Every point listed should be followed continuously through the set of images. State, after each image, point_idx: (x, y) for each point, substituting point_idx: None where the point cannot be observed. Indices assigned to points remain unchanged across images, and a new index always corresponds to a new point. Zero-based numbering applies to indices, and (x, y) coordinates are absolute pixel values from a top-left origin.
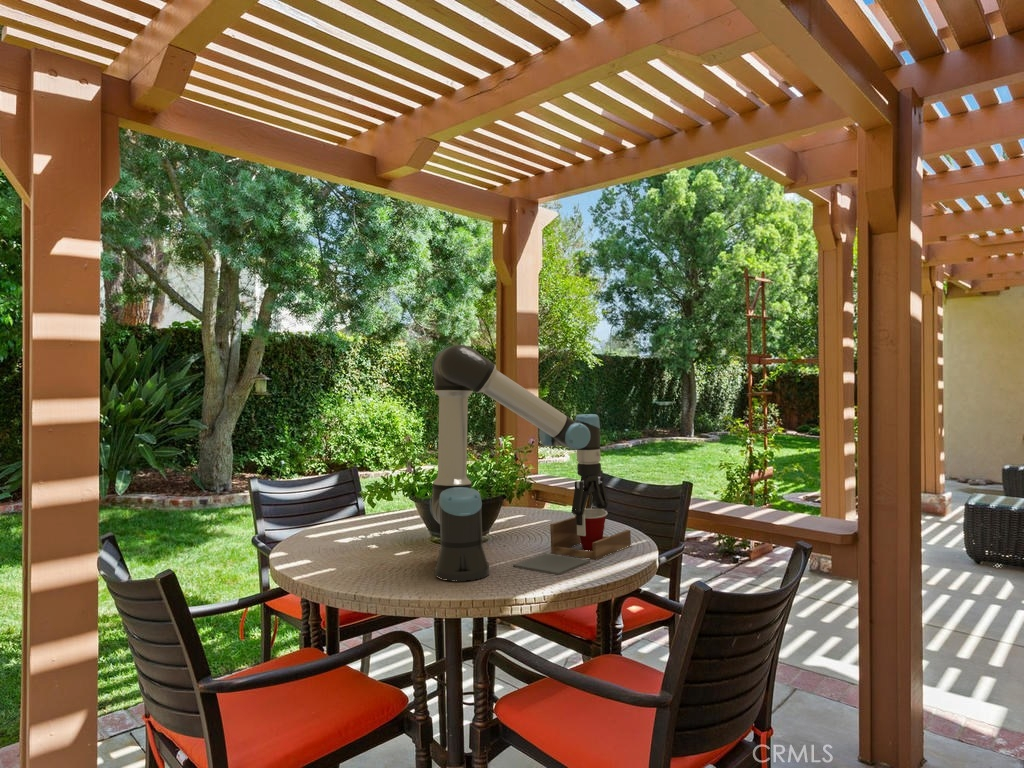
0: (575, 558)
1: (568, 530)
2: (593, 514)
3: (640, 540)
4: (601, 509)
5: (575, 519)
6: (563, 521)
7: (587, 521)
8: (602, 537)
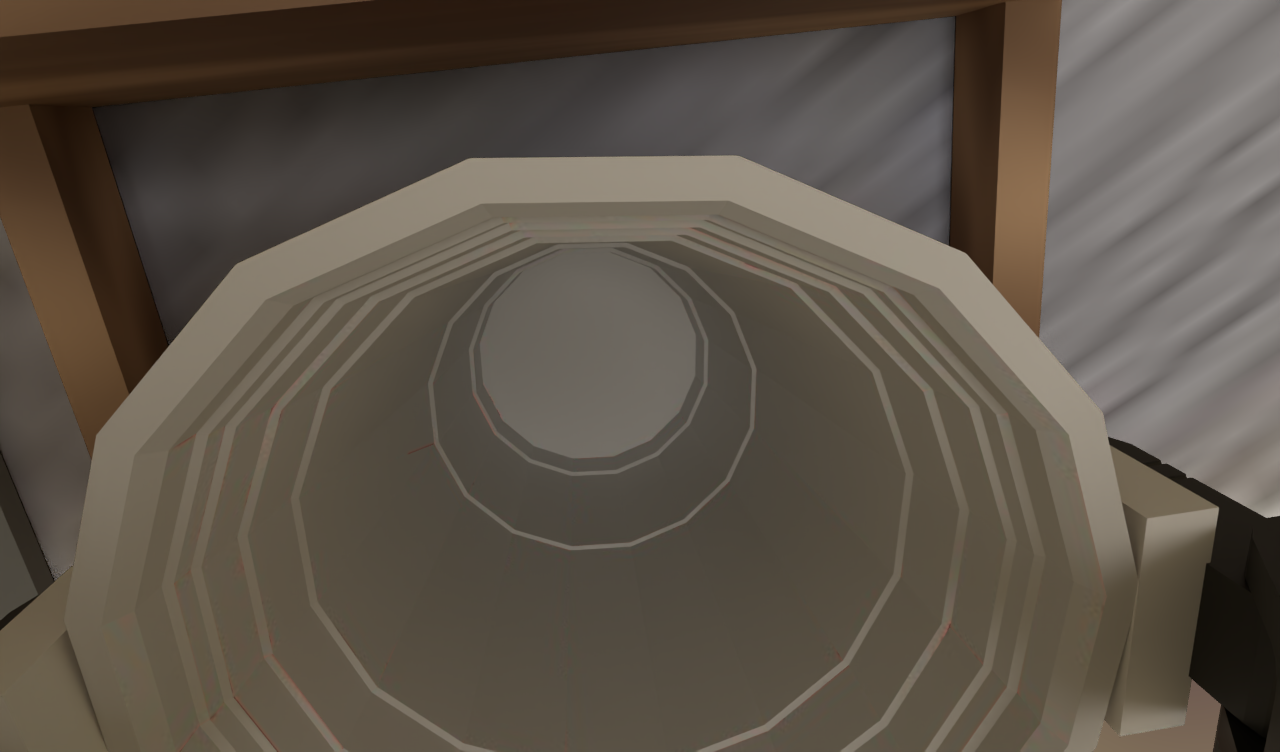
0: (10, 576)
1: (368, 44)
2: (957, 439)
3: (1257, 503)
4: (1118, 693)
5: None
6: (26, 34)
7: (291, 733)
8: (677, 545)
